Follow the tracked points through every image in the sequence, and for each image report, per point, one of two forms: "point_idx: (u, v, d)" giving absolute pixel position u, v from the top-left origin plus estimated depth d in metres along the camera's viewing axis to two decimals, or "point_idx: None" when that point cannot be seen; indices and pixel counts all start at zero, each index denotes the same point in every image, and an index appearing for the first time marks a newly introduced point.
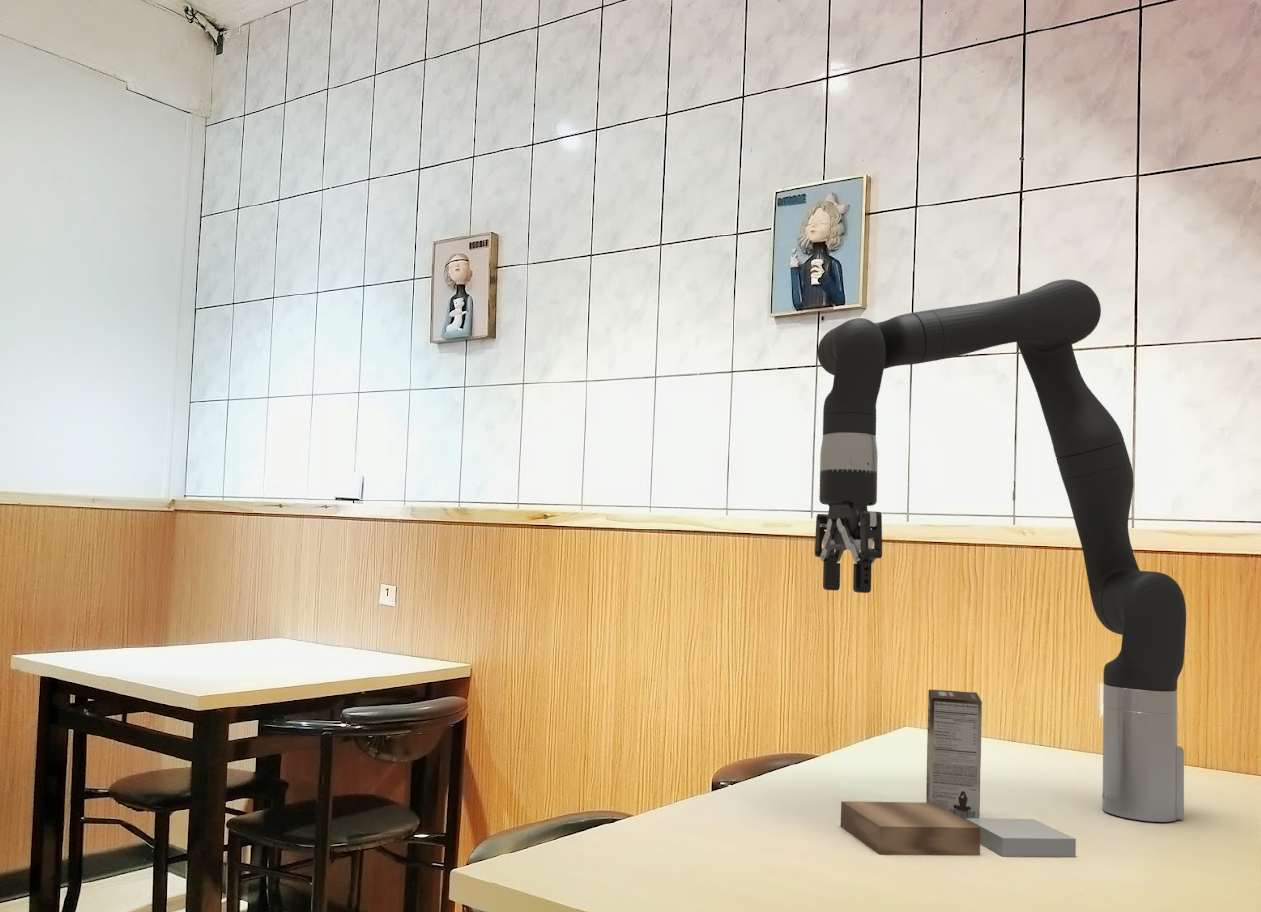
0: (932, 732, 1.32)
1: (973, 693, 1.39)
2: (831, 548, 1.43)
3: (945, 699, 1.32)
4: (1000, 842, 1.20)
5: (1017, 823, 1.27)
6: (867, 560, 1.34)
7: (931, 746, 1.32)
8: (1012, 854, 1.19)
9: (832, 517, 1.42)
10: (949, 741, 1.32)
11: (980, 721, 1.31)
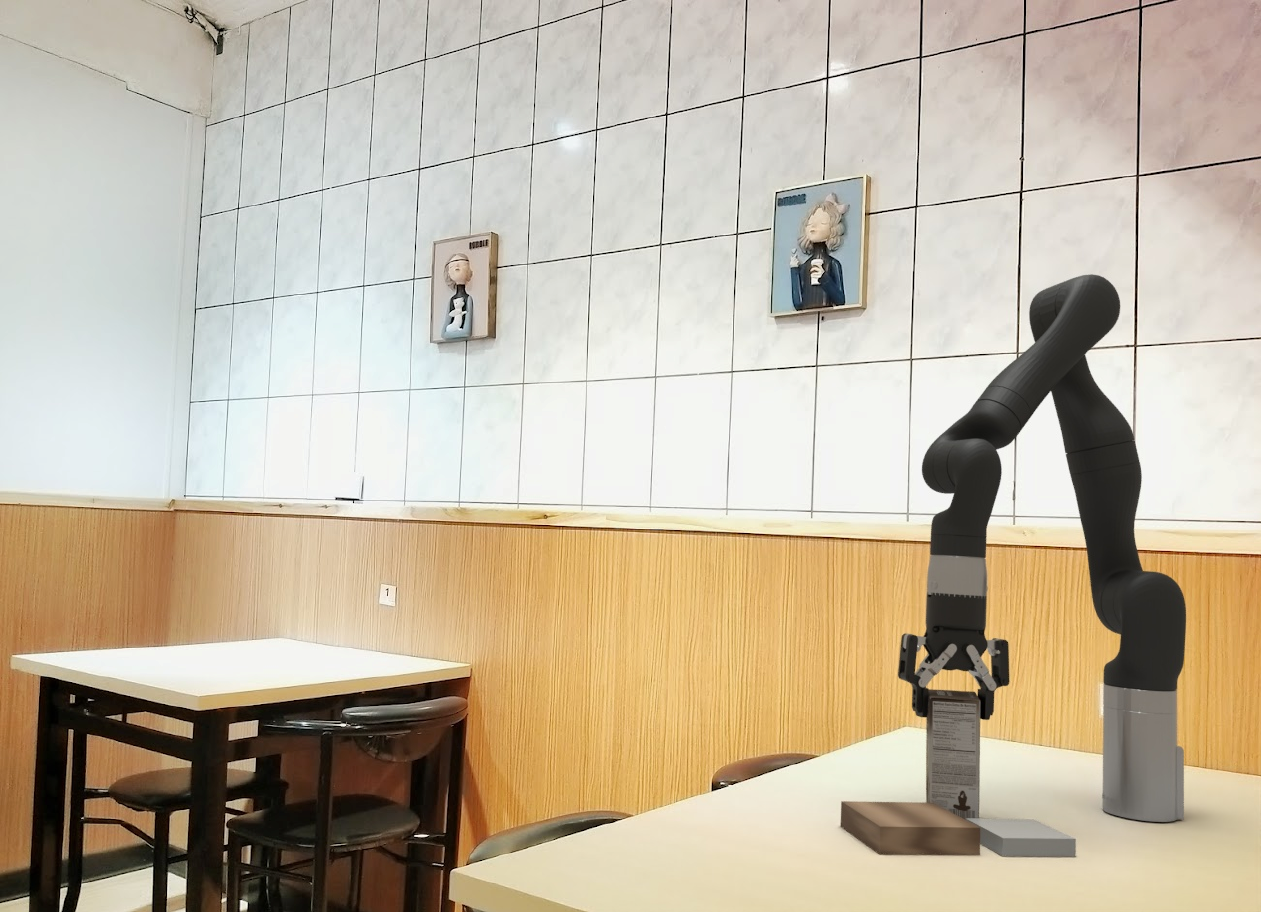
0: (931, 732, 1.32)
1: (971, 692, 1.39)
2: None
3: (943, 699, 1.32)
4: (1000, 842, 1.20)
5: (1017, 823, 1.27)
6: None
7: (930, 746, 1.32)
8: (1012, 854, 1.19)
9: (942, 641, 1.35)
10: (948, 741, 1.32)
11: (978, 720, 1.31)
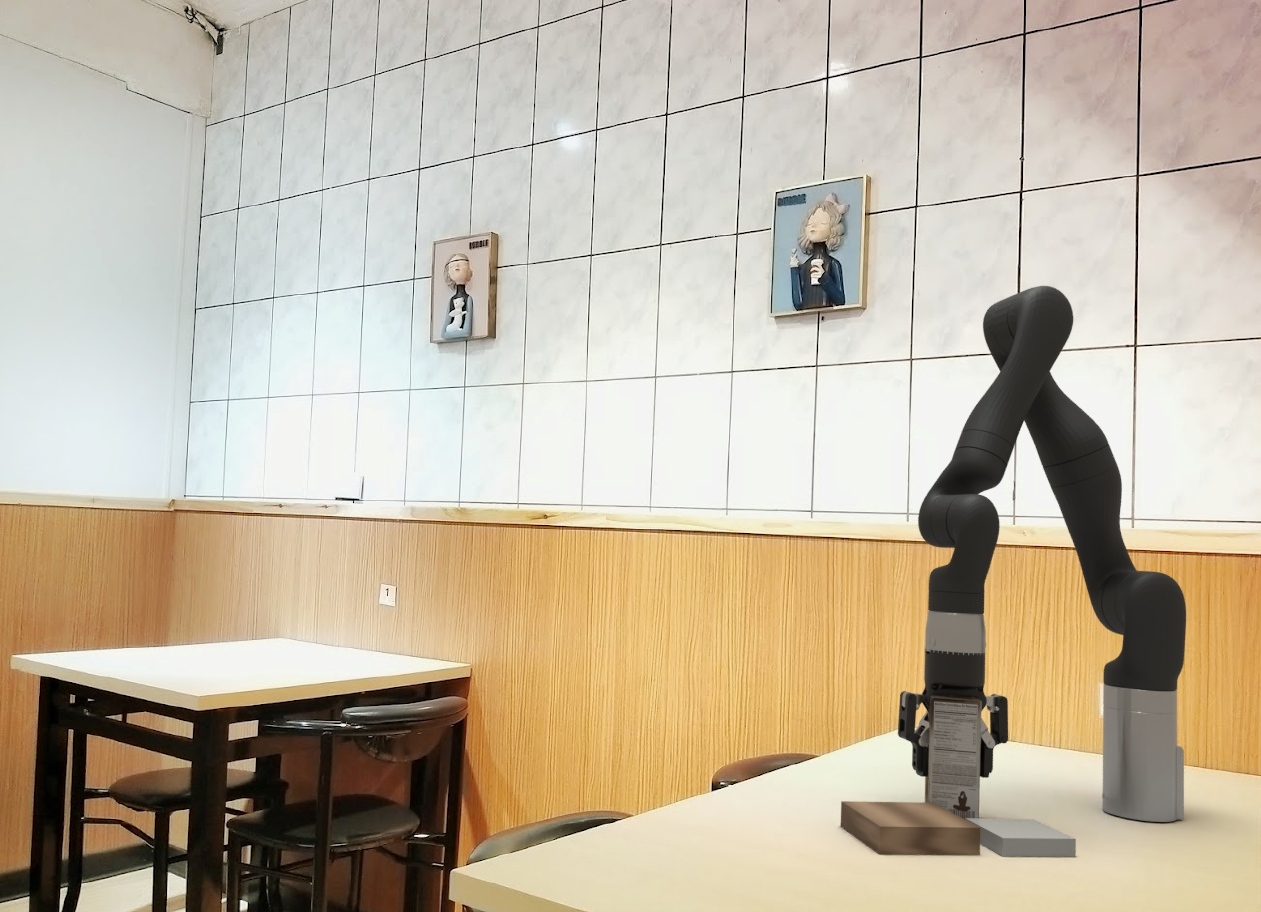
0: (932, 732, 1.32)
1: None
2: None
3: (945, 699, 1.32)
4: (1000, 842, 1.20)
5: (1017, 823, 1.27)
6: None
7: (931, 746, 1.32)
8: (1012, 854, 1.19)
9: None
10: (949, 741, 1.32)
11: (979, 720, 1.31)
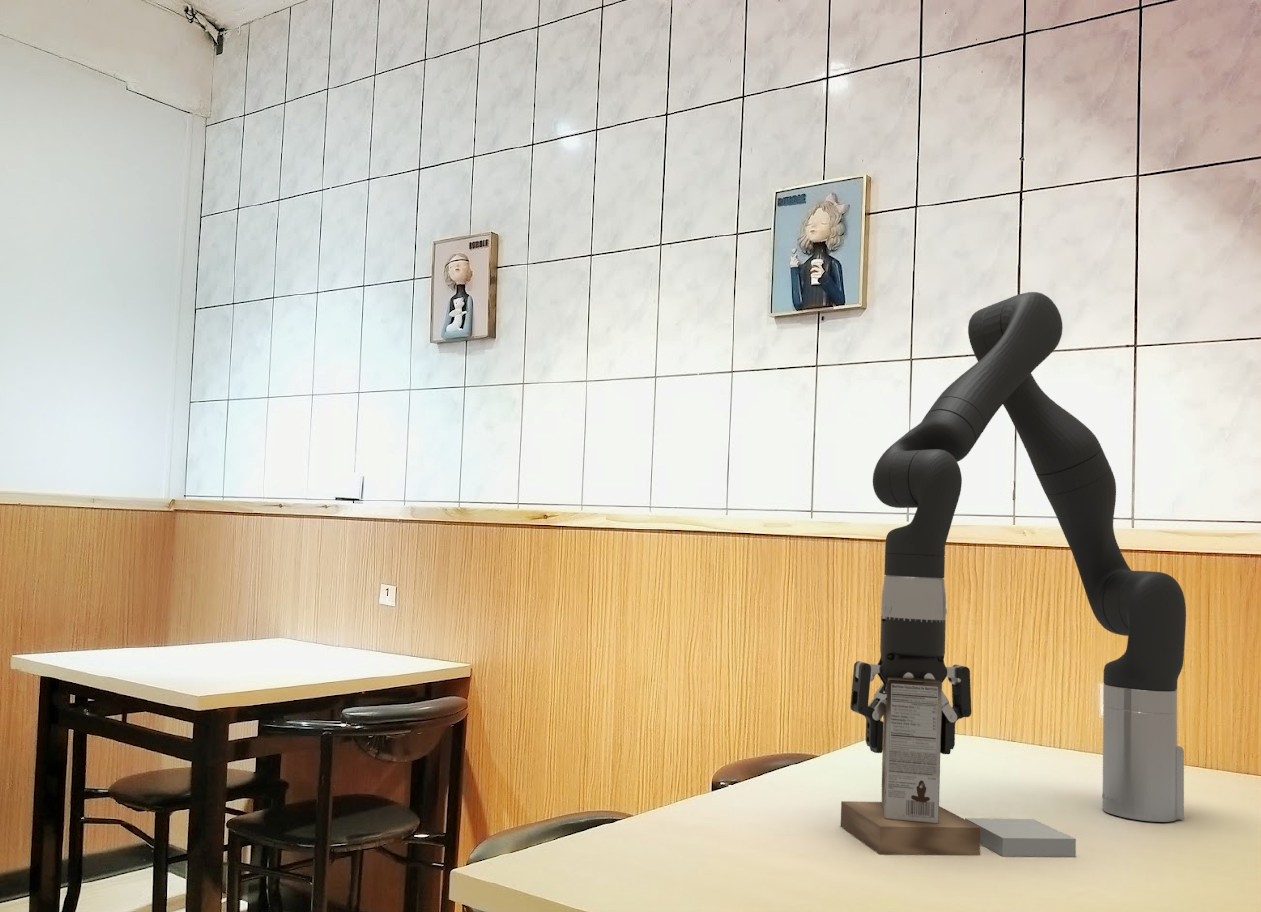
0: (889, 717, 1.22)
1: None
2: None
3: (903, 681, 1.22)
4: (1000, 842, 1.20)
5: (1017, 823, 1.27)
6: None
7: (887, 732, 1.22)
8: (1012, 854, 1.19)
9: (898, 669, 1.25)
10: (907, 727, 1.22)
11: (940, 704, 1.21)
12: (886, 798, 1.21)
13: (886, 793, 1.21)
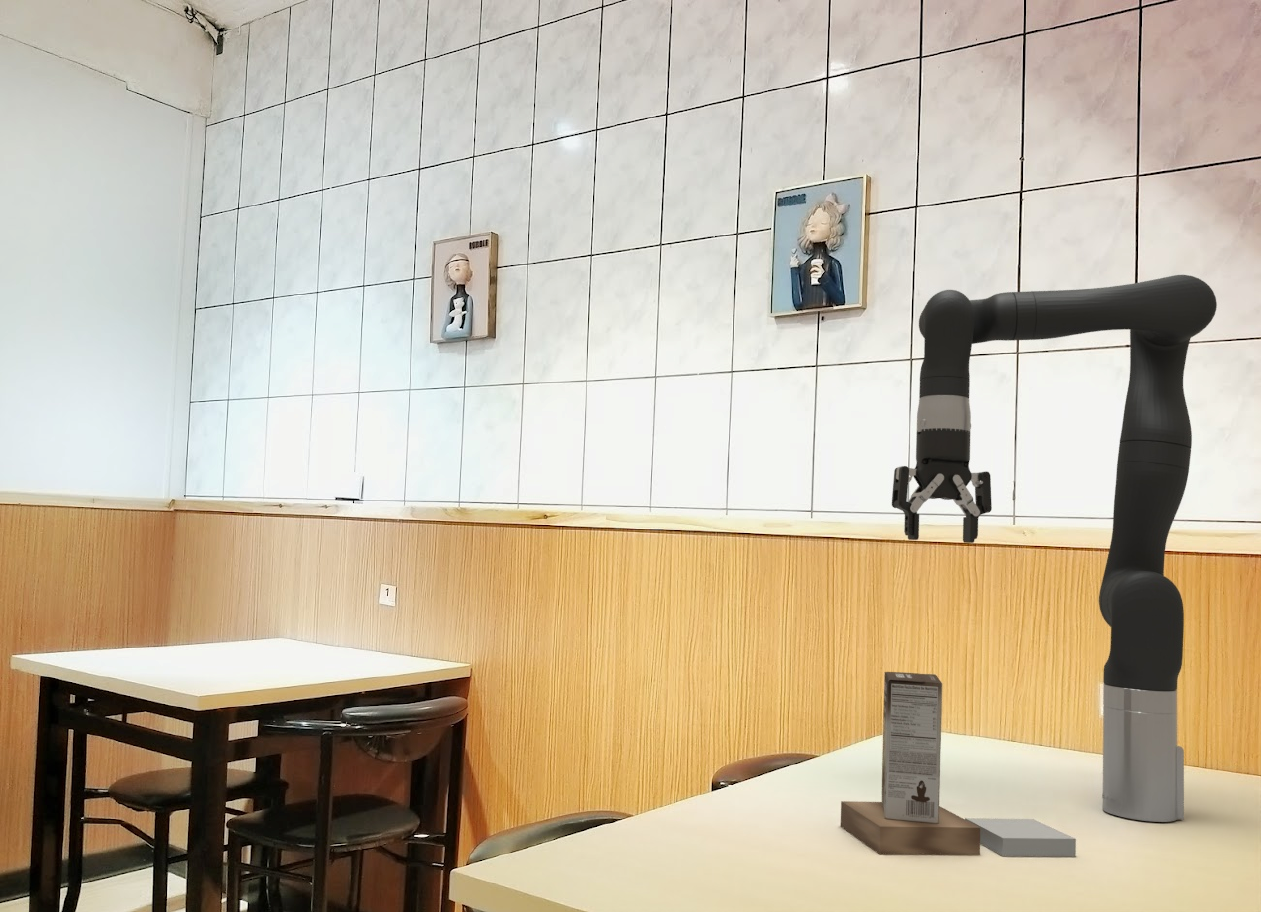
0: (889, 717, 1.22)
1: (932, 675, 1.29)
2: None
3: (903, 681, 1.22)
4: (1000, 842, 1.20)
5: (1017, 823, 1.27)
6: None
7: (887, 732, 1.22)
8: (1012, 854, 1.19)
9: (931, 472, 1.51)
10: (907, 727, 1.22)
11: (940, 704, 1.21)
12: (886, 798, 1.21)
13: (886, 793, 1.21)
